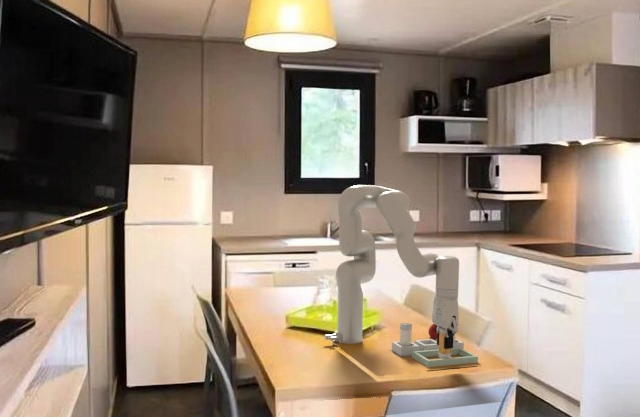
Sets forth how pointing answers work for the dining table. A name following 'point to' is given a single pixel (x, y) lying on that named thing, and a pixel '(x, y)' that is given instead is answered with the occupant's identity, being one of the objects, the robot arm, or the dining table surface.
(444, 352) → the marked fuse
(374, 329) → the dining table surface
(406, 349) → the fuse holder
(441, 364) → the tray
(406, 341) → the cylinder
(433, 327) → the onion
